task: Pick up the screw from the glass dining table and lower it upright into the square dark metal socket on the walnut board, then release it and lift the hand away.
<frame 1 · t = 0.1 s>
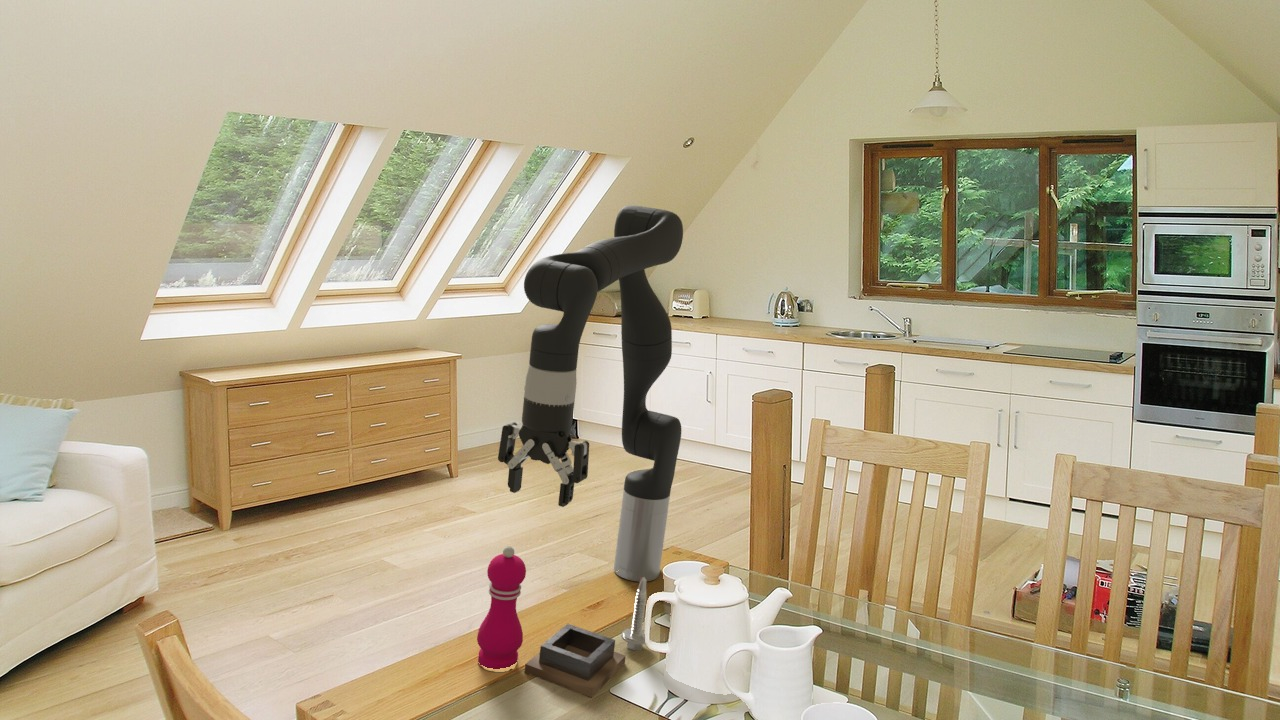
hand: (538, 498, 146), 29 cm above the table, tool pointing down, fingers open, 8 cm apart
pepper mill: (497, 663, 154), on the table
screw: (634, 647, 164), on the table
socket: (577, 651, 155), on the walnut board, point 3 cm above the table
walnut board: (575, 668, 155), on the table
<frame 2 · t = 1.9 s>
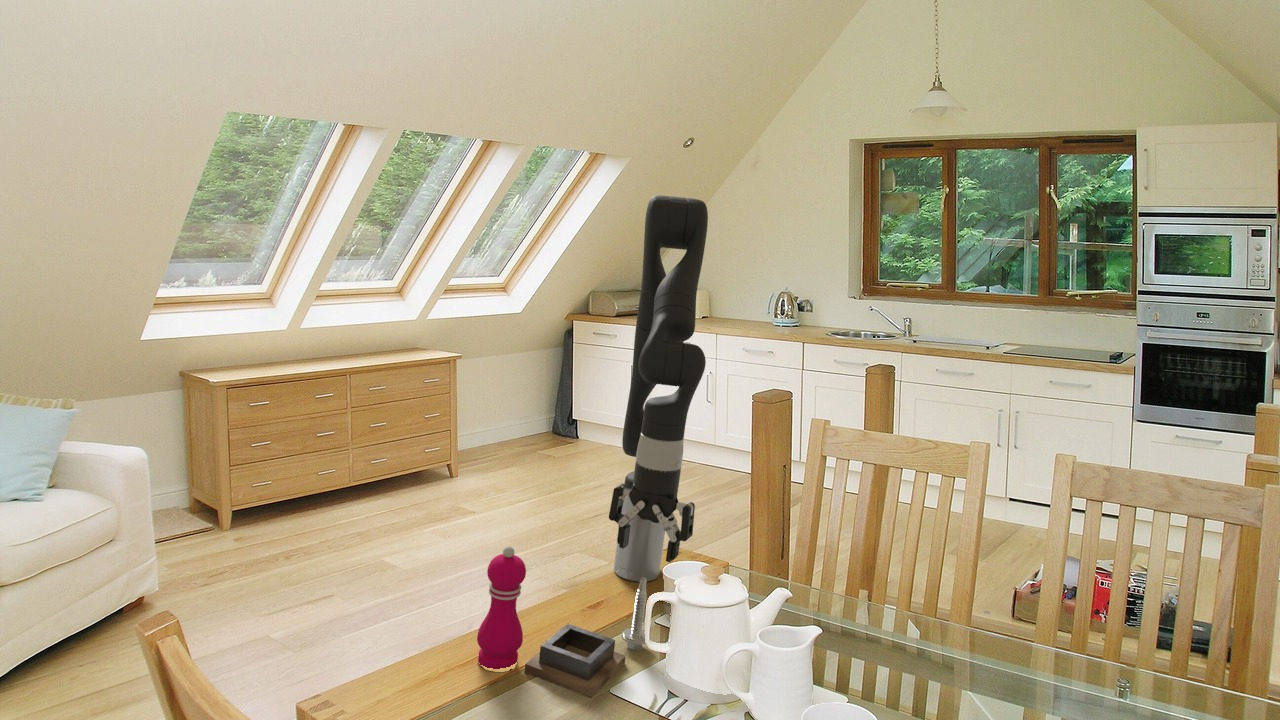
hand: (646, 553, 160), 17 cm above the table, tool pointing down, fingers open, 8 cm apart
nothing on the table moved.
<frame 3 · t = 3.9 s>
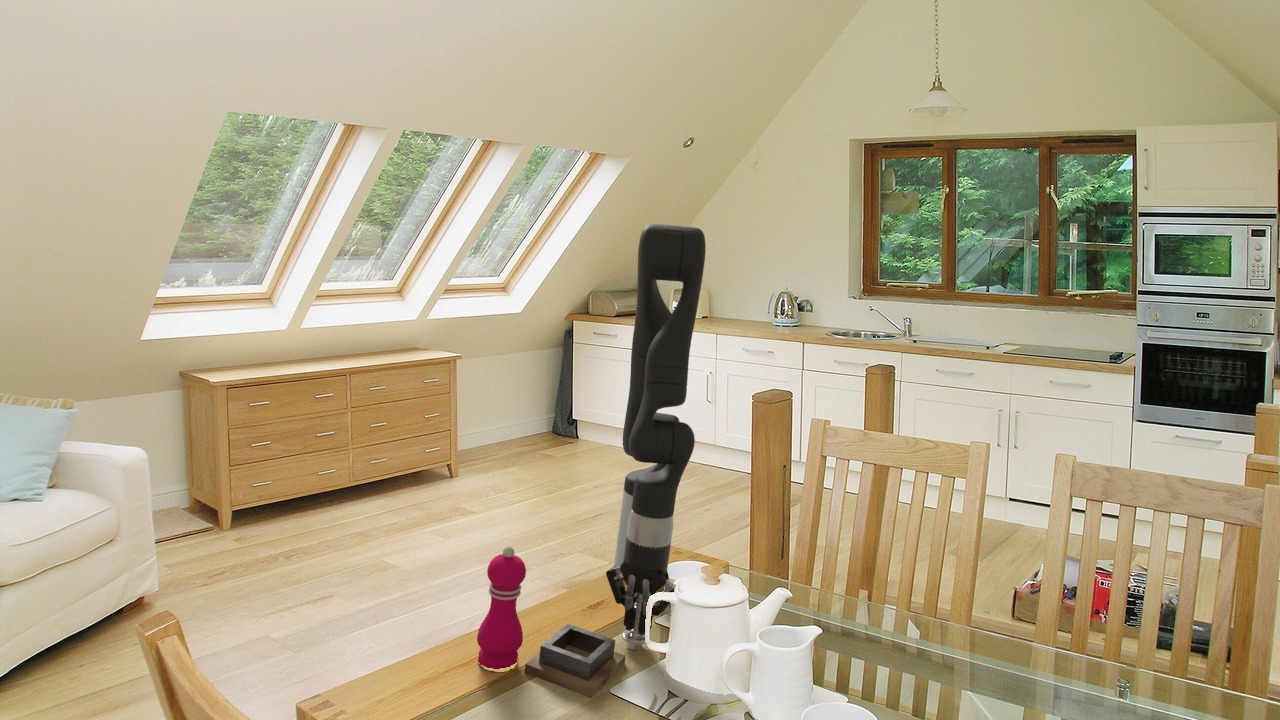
hand: (636, 630, 164), 3 cm above the table, tool pointing down, fingers closed on screw, 2 cm apart
screw: (634, 647, 164), on the table, touching gripper
everything else where it was.
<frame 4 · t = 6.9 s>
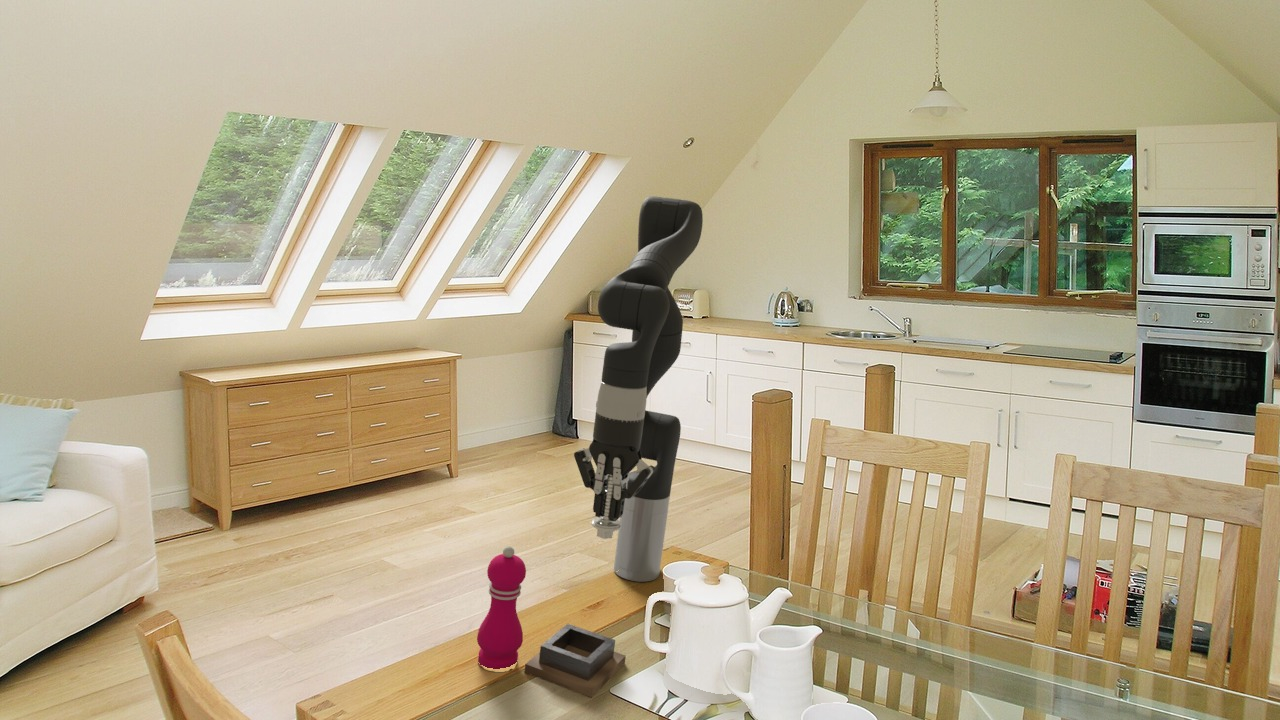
hand: (607, 517, 151), 26 cm above the table, tool pointing down, fingers closed on screw
screw: (604, 536, 152), point 22 cm above the table, touching gripper
everything else where it was.
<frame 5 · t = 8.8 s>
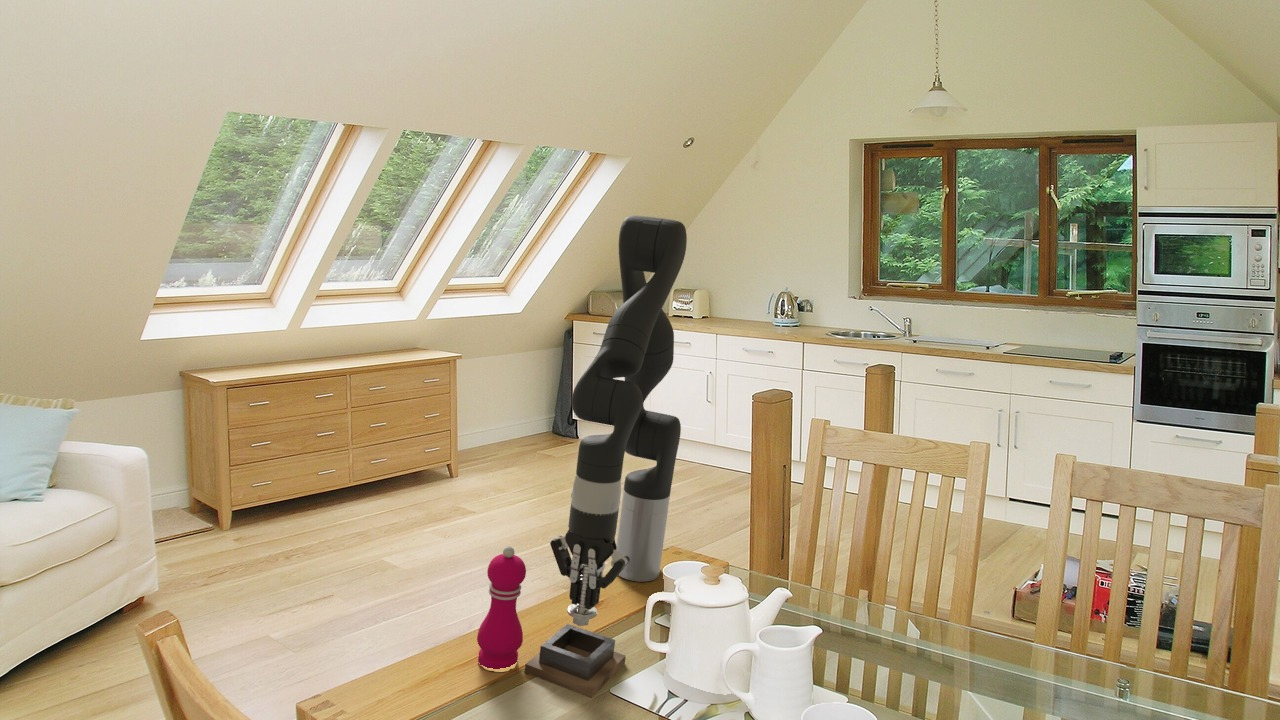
hand: (583, 604, 153), 11 cm above the table, tool pointing down, fingers closed on screw
screw: (580, 623, 154), point 8 cm above the table, touching gripper
everything else where it was.
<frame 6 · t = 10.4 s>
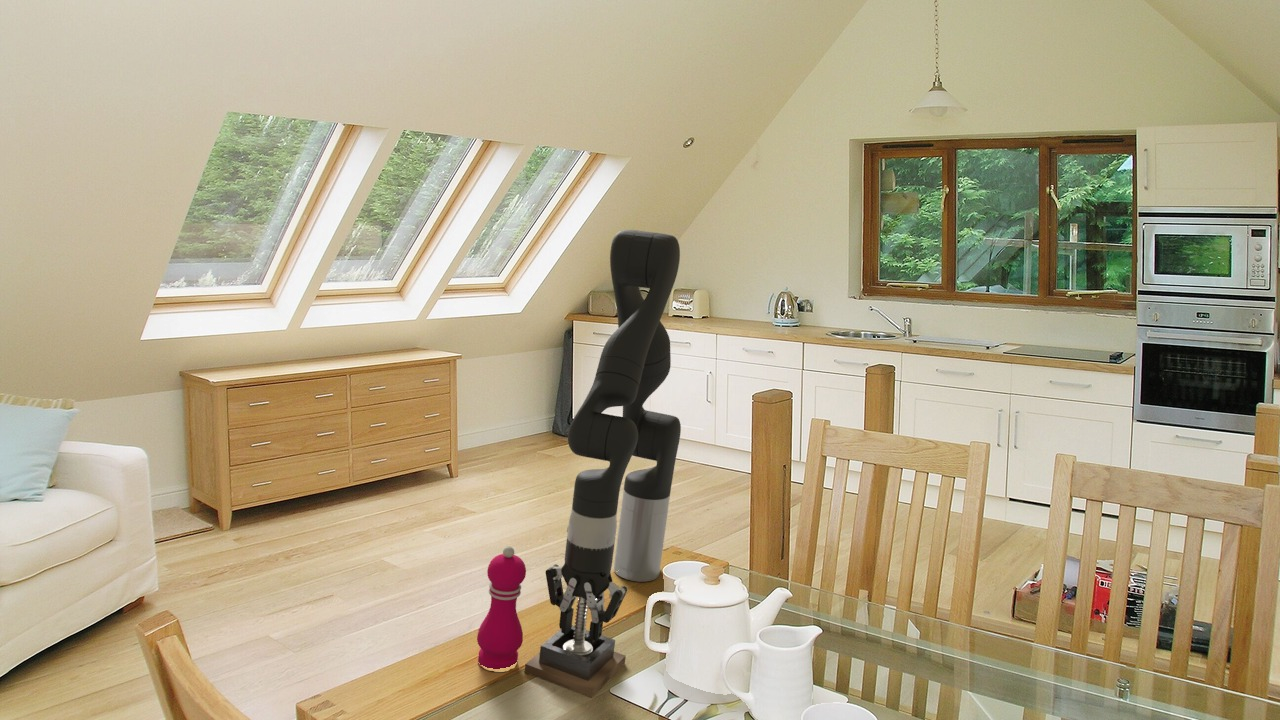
hand: (579, 635, 154), 6 cm above the table, tool pointing down, fingers open, 4 cm apart
screw: (576, 660, 155), point 1 cm above the table, touching walnut board
everything else where it was.
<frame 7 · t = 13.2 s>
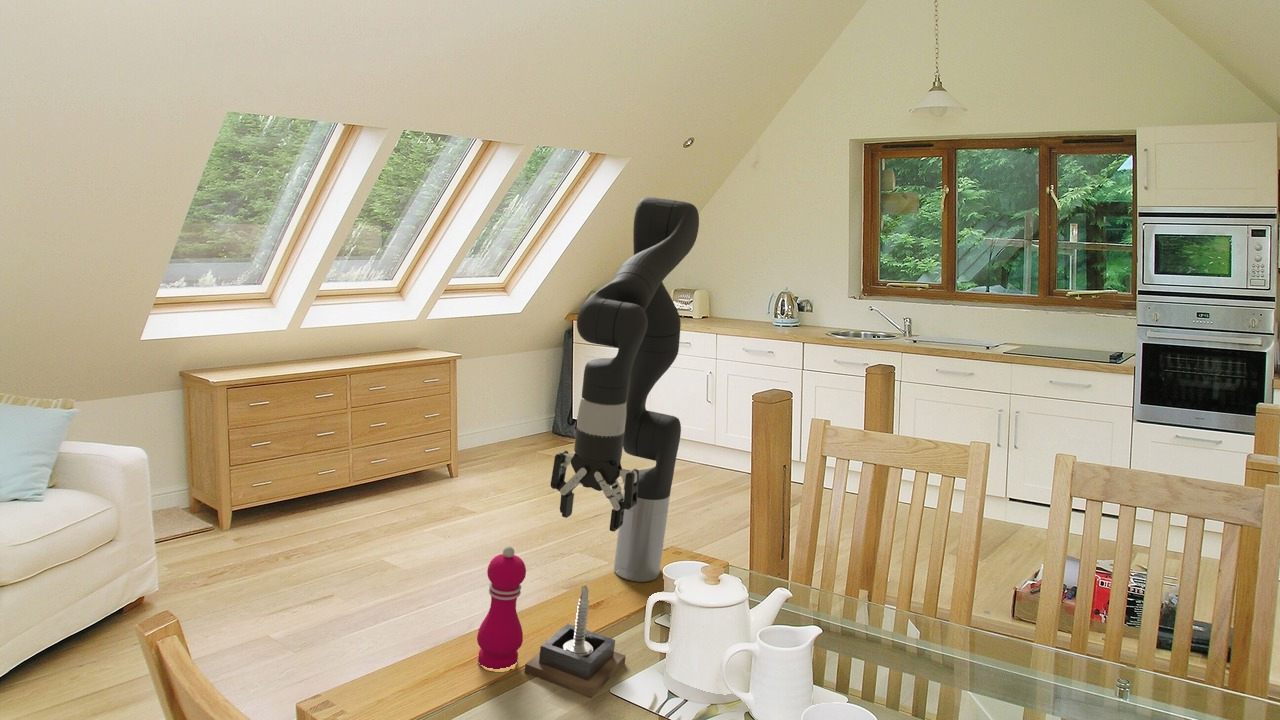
hand: (590, 522, 154), 24 cm above the table, tool pointing down, fingers open, 8 cm apart
nothing on the table moved.
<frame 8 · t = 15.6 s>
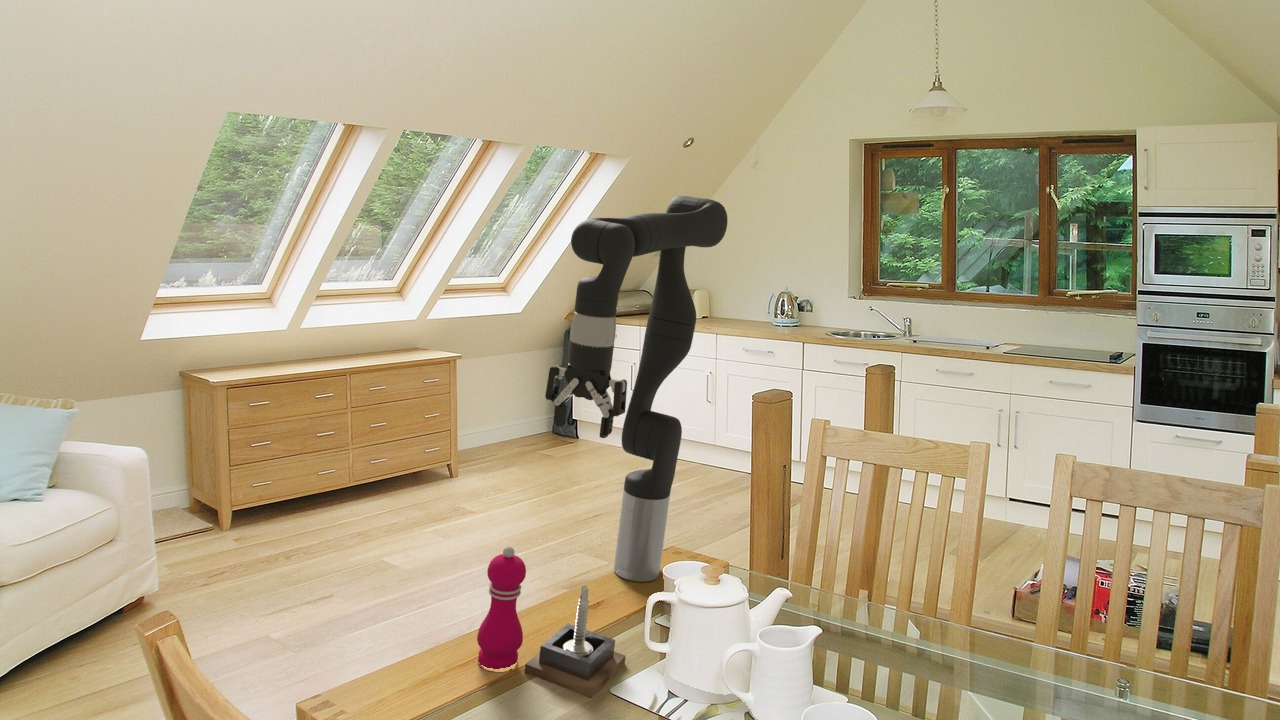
hand: (581, 431, 166), 34 cm above the table, tool pointing down, fingers open, 8 cm apart
nothing on the table moved.
at the end: screw 0.1 cm off-centre on the socket, point 1.3 cm above the socket's base; screw tilted 0°; the gripper is holding nothing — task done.
